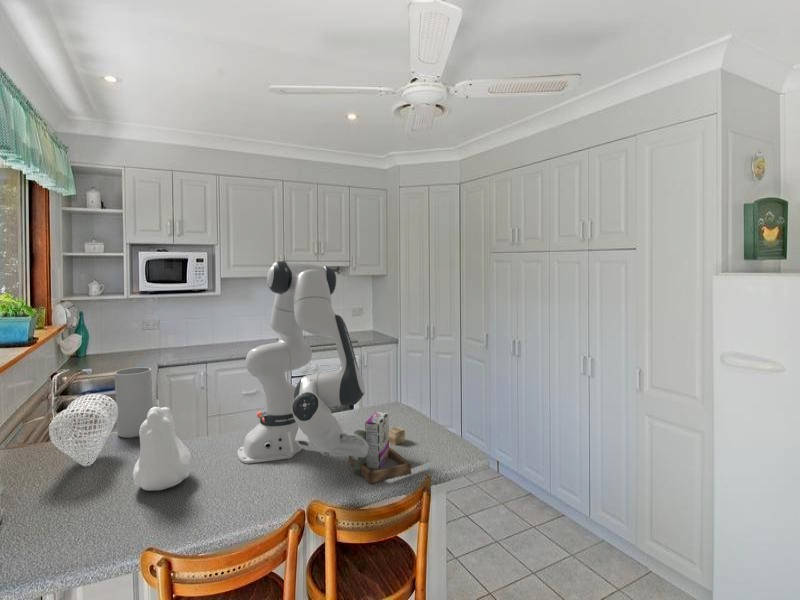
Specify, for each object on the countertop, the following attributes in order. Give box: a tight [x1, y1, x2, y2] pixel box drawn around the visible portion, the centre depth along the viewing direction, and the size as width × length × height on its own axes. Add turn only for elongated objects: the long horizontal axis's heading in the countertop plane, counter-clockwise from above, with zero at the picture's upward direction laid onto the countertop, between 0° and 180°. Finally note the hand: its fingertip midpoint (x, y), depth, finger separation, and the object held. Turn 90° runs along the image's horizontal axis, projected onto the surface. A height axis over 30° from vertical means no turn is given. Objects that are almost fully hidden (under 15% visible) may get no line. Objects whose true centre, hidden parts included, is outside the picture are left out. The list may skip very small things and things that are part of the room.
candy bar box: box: [364, 411, 390, 472], centre depth 150 cm, size 11×5×16 cm, turn 165°
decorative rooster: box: [132, 406, 192, 491], centre depth 141 cm, size 25×16×25 cm, turn 5°
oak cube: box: [389, 426, 406, 446], centre depth 167 cm, size 4×4×4 cm
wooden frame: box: [347, 429, 412, 484], centre depth 148 cm, size 16×17×13 cm
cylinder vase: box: [113, 366, 154, 439], centre depth 181 cm, size 12×12×25 cm
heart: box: [48, 393, 118, 467], centre depth 151 cm, size 28×16×22 cm, turn 20°
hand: (341, 455), depth 135 cm, fingers open, 8 cm apart
